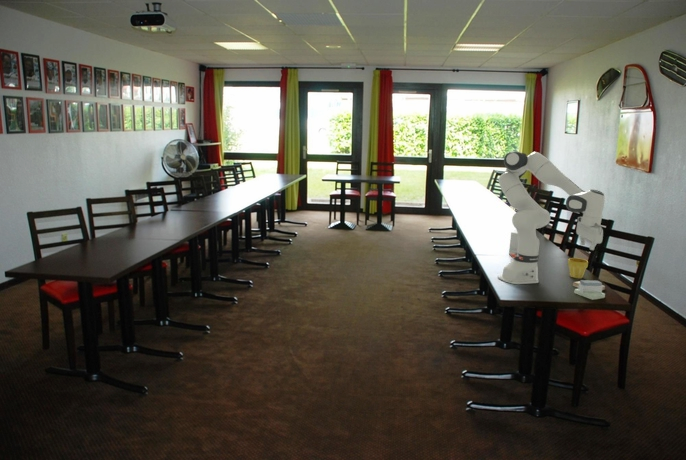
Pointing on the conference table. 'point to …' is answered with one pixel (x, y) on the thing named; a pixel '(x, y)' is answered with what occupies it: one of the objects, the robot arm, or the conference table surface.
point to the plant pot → (577, 267)
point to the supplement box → (513, 243)
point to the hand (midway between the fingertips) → (586, 247)
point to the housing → (590, 286)
